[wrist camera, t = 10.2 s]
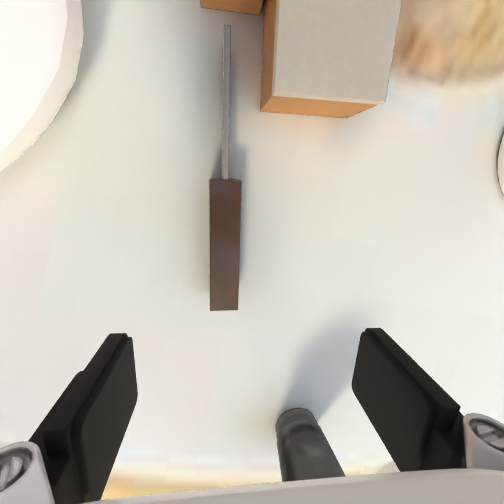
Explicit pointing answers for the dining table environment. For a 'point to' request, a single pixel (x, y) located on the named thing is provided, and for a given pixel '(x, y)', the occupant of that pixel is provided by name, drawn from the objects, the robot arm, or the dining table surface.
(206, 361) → the dining table surface
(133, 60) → the dining table surface
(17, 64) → the white round disc
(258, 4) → the cake slice
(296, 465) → the beverage cup
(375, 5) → the cake
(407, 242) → the dining table surface
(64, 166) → the dining table surface
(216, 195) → the knife
